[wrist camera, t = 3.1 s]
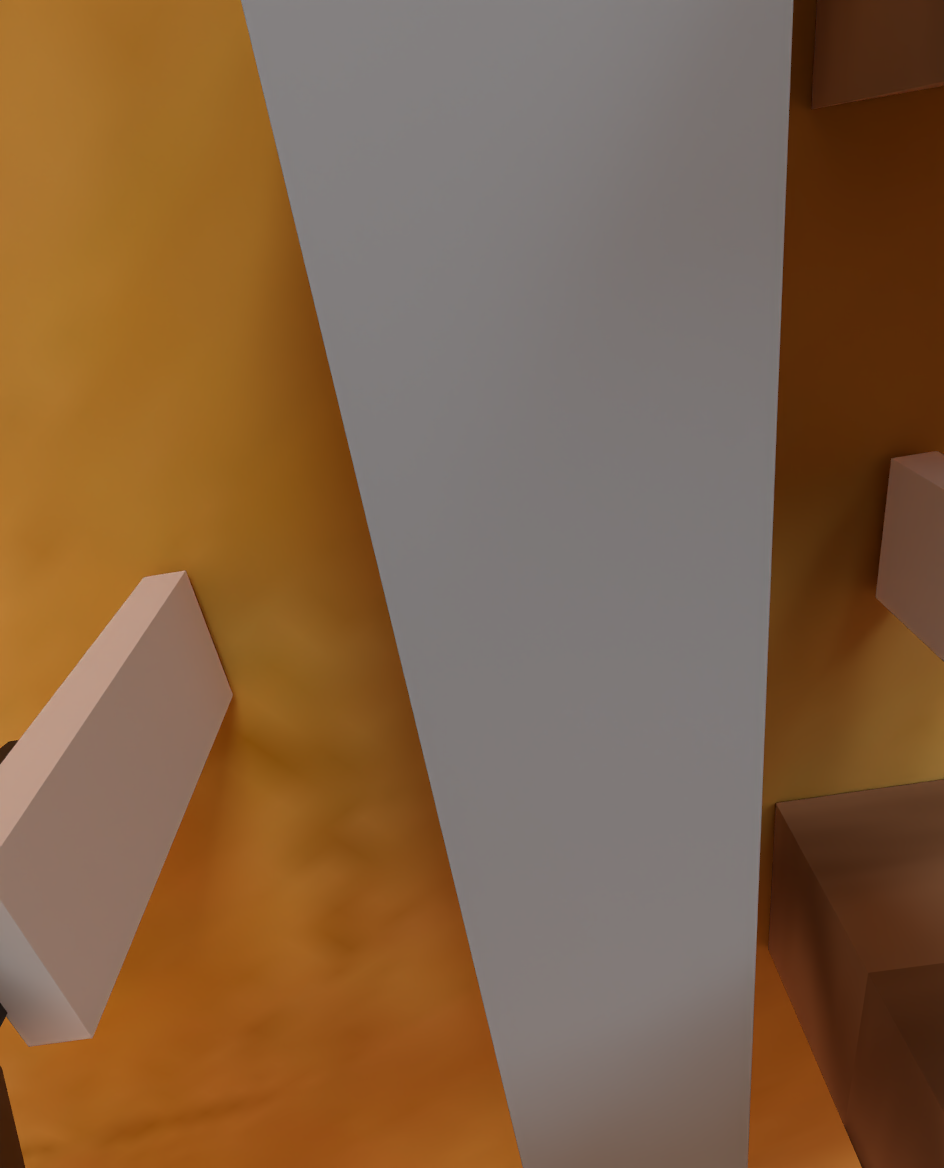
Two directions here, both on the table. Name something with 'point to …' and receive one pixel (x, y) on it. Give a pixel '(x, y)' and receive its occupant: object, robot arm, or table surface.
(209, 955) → the table surface
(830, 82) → the post head
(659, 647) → the rail
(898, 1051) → the post foot
